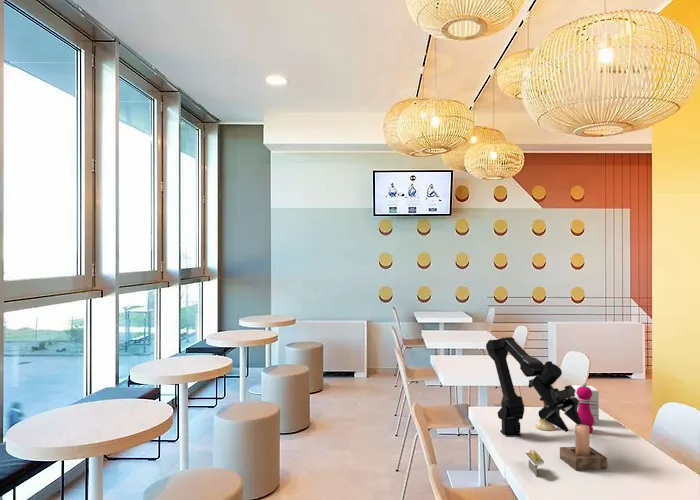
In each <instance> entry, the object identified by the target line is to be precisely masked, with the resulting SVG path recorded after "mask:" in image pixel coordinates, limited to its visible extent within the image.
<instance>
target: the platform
mask: <svg viewBox="0 0 700 500" xmlns="http://www.w3.org/2000/svg"><path fill="white" fill-rule="evenodd" d="M524 455H525V456H526V458H527V459H528V468H529V470H531V473H533V474H534V475H535V477H536V478H537V477H538V466H541V465H544V464H545V461H544V460H543V459H542V457H541V455H540V454H539V453H538V452H537V451H536V450H533V449H532V450H531V449H530V450H529V452H525V453H524Z"/></svg>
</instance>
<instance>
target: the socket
mask: <svg viewBox="0 0 700 500" xmlns="http://www.w3.org/2000/svg"><path fill="white" fill-rule="evenodd" d="M559 459H560V460H561V461H563V462H564V463H565V464H566V465H568V466H569V467H571V468H572V469H573V470H575V472H578V471H579V472H580V471H596V470H599V471H600V470H607V469H608V464H607V463H608V458H607V456H606V455H603V454H602V453H601V452H599V451H597V450H596V449H595V448H594V447H591V446H590V456H578V455H577V454H576V447H575V446H559Z"/></svg>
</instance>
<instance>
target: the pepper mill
mask: <svg viewBox="0 0 700 500" xmlns="http://www.w3.org/2000/svg"><path fill="white" fill-rule="evenodd" d="M580 386H581V387H579V388H578V389H577V392H576V393H577V395H578V397H579V398H578V401H579V410H578V414H579V417H580V420H581V422H582V424H583V425H587V426H589V434H592V433H593V432H594V427H593V426H594V425H593V424H594V418H593V415H592V413H591V411H590V403H591V399H590V398H591V396H592V391H591V389H590V388H588V387H586V386H588V384H587V383H585V382H582V383H581V385H580Z"/></svg>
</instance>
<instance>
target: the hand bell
mask: <svg viewBox="0 0 700 500" xmlns="http://www.w3.org/2000/svg"><path fill="white" fill-rule="evenodd" d="M542 402H543V407H544V406H546V405H547V404H546V403H545V402H544V400H543V401H542ZM545 419H546V418H545ZM545 419H541V418H540V417H539V420H538V422H537V423H536V424H535V428H536V429H538V430H540V431H545V430H546V431H547V432H548V431H549V432H551V431H552V430H554V431H556V430H557V426H555V425H554V424H552V423H550V422H548V421H545Z"/></svg>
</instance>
